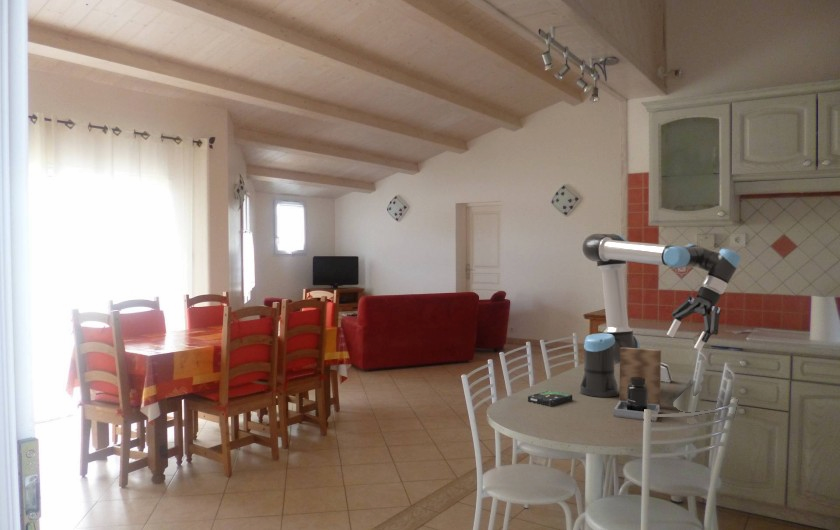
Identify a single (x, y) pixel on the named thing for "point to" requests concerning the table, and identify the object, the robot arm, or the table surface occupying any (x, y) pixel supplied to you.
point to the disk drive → (550, 398)
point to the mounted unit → (641, 371)
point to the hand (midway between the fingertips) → (683, 342)
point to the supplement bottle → (637, 395)
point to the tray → (623, 412)
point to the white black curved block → (665, 373)
